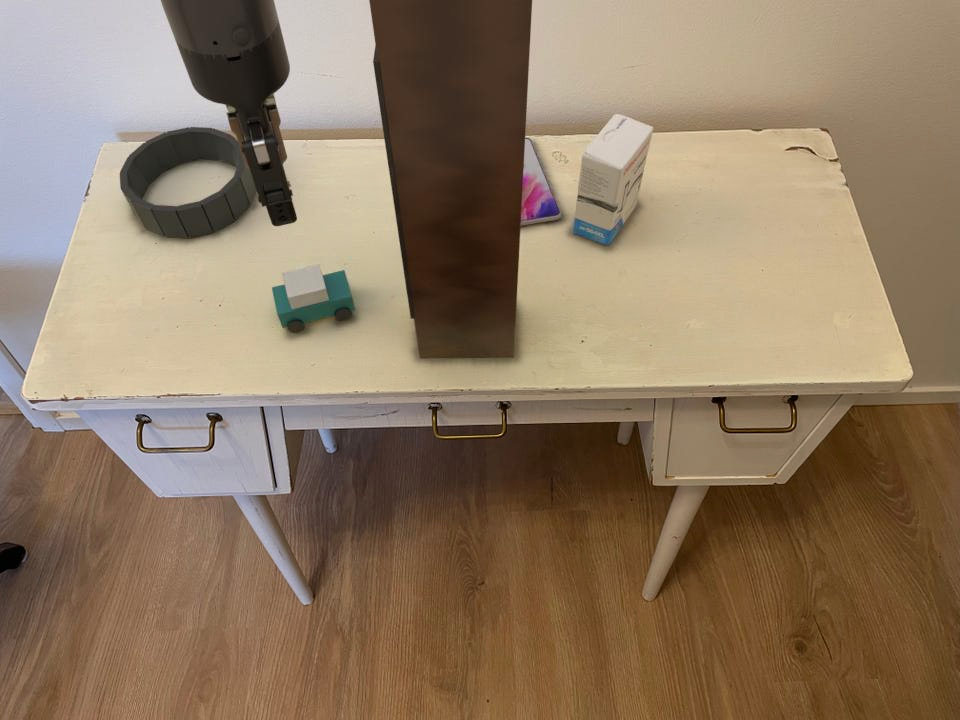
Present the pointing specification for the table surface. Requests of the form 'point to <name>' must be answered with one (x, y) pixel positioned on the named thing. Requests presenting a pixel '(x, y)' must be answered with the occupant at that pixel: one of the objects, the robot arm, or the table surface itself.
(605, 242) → the ink box
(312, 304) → the toy car
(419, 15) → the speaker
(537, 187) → the smartphone
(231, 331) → the table surface
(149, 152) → the segmented grey ring
